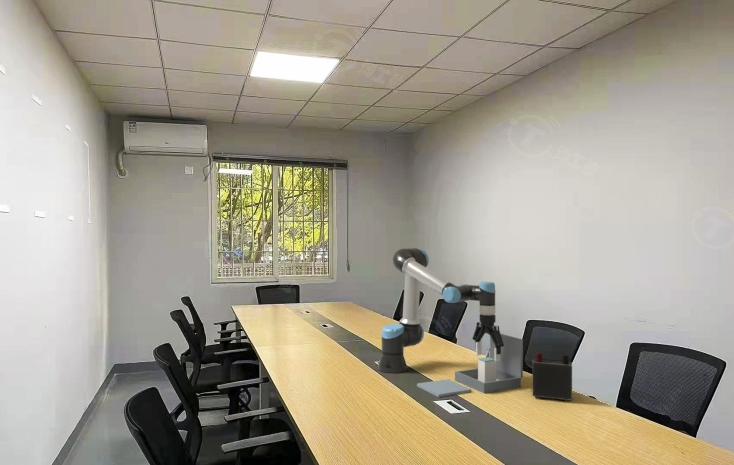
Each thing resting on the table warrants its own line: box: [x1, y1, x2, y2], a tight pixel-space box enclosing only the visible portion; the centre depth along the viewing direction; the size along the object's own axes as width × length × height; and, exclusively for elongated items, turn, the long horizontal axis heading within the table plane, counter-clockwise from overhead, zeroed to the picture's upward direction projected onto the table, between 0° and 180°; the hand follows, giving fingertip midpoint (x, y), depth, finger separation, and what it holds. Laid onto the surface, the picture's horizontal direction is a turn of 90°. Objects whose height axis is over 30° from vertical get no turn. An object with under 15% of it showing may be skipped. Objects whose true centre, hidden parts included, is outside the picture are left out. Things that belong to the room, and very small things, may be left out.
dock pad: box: [416, 378, 472, 398], centre depth 230 cm, size 18×18×1 cm
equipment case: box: [454, 333, 524, 394], centre depth 240 cm, size 23×23×22 cm
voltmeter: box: [532, 352, 573, 403], centre depth 222 cm, size 16×16×20 cm
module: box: [477, 356, 497, 382], centre depth 239 cm, size 5×7×12 cm
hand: (487, 358), depth 239 cm, fingers open, 13 cm apart
